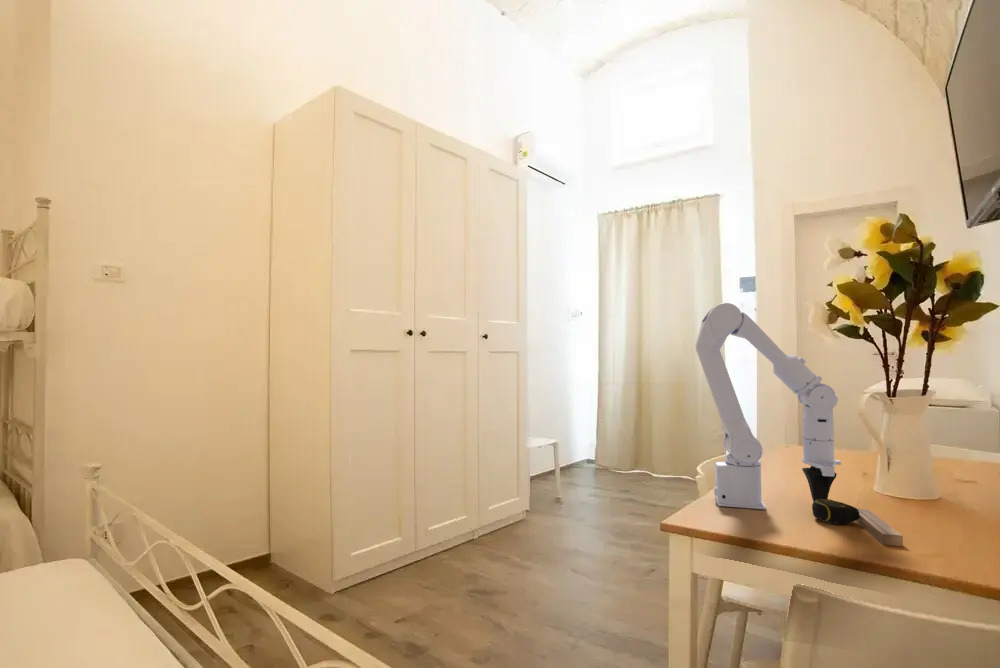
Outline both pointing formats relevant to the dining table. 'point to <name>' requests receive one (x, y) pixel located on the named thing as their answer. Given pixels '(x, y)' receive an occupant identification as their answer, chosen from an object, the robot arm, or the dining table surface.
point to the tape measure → (834, 511)
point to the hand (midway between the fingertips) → (819, 503)
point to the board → (879, 528)
